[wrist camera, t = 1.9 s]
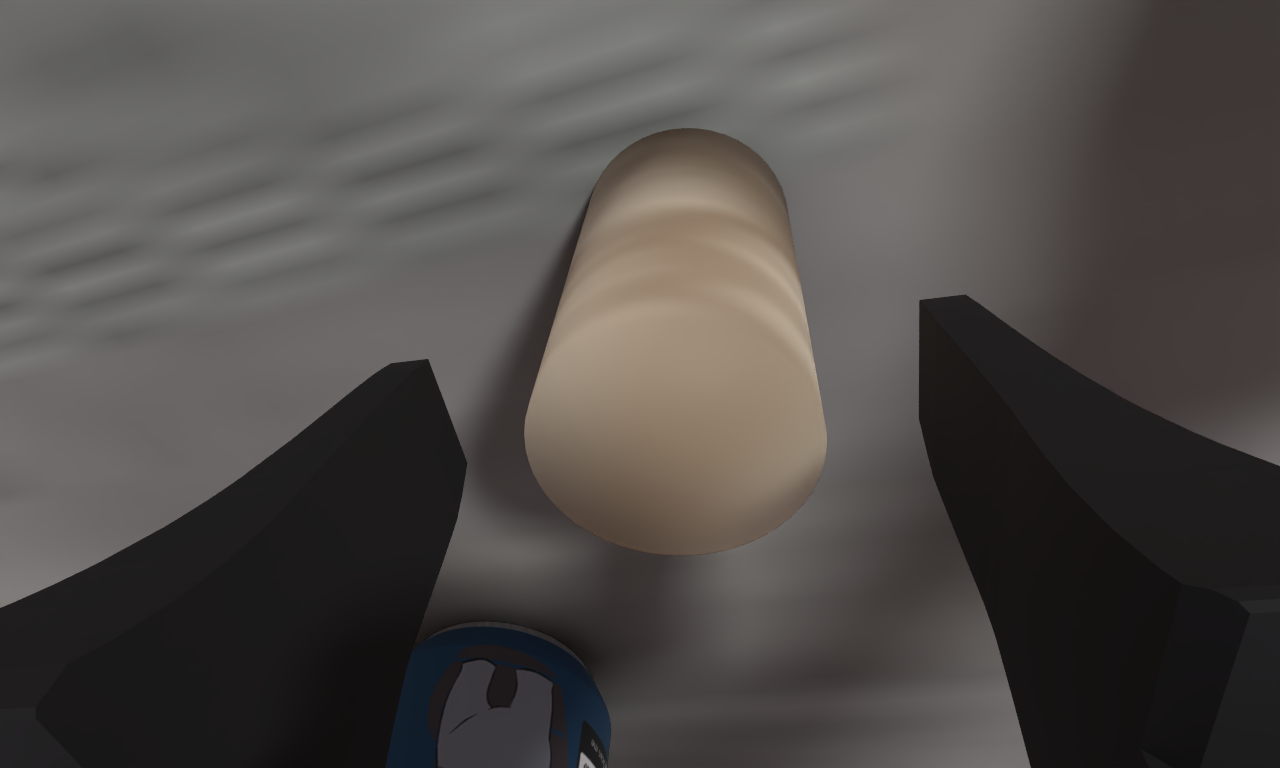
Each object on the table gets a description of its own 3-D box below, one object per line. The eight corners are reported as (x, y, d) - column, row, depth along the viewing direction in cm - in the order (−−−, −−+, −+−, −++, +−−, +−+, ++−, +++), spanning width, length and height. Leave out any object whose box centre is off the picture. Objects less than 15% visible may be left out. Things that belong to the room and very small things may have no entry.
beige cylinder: (822, 170, 16) (883, 379, 10) (741, 337, 18) (753, 585, 13) (623, 97, 16) (571, 275, 10) (564, 278, 18) (494, 509, 12)
